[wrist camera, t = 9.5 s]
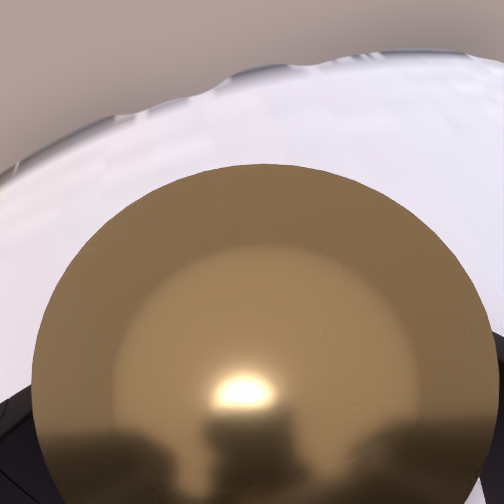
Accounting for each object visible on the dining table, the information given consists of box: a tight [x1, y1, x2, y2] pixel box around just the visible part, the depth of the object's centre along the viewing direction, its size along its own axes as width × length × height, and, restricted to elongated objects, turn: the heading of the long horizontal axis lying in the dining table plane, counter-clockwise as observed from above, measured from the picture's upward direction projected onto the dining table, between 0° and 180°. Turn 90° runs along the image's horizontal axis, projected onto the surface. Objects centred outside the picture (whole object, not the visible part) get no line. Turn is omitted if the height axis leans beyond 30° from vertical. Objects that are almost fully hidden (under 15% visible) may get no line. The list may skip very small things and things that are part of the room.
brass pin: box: [31, 164, 499, 504], centre depth 9 cm, size 5×5×14 cm
